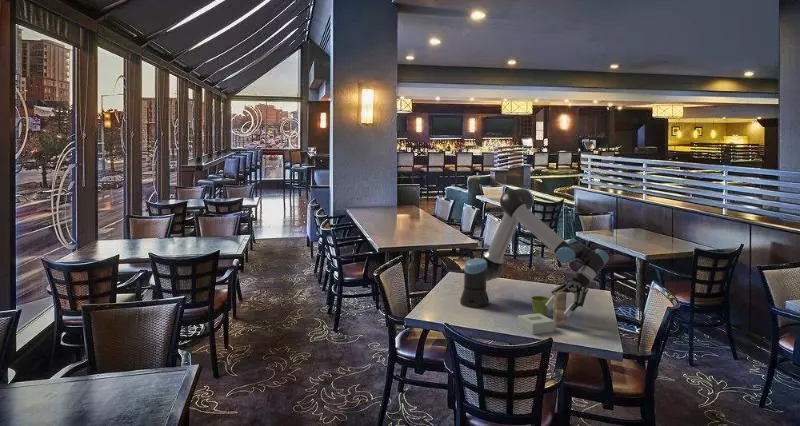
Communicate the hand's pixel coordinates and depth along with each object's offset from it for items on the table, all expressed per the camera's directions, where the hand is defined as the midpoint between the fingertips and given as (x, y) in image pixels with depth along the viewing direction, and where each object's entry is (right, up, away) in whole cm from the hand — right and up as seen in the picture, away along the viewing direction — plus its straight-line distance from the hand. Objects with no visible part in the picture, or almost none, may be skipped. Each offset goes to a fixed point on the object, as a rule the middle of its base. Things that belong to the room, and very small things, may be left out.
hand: (556, 311), depth 249 cm
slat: (+2, -7, +2) cm, 8 cm away
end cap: (-10, -8, -3) cm, 13 cm away
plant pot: (-3, -6, +17) cm, 18 cm away
